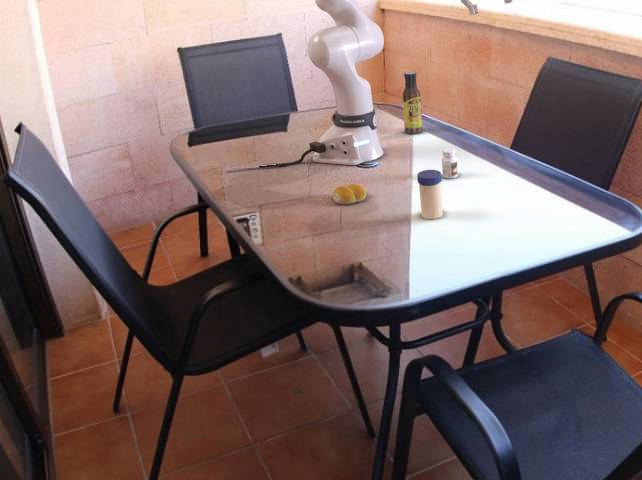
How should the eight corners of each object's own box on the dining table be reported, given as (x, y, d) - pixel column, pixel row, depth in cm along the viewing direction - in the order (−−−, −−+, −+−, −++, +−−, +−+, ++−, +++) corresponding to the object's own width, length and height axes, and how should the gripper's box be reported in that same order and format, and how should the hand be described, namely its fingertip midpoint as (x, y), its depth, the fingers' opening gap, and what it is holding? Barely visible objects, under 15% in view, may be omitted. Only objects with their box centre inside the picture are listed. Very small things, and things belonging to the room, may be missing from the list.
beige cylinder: (419, 219, 169) (416, 179, 163) (424, 210, 173) (420, 171, 168) (440, 219, 168) (437, 180, 162) (444, 210, 172) (441, 172, 167)
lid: (415, 185, 164) (414, 178, 163) (420, 176, 169) (419, 169, 168) (439, 185, 163) (438, 178, 162) (443, 176, 168) (442, 169, 167)
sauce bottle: (411, 135, 226) (405, 75, 216) (401, 131, 231) (395, 72, 220) (426, 131, 229) (422, 72, 219) (417, 127, 234) (412, 69, 223)
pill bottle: (456, 179, 191) (454, 153, 186) (441, 178, 191) (439, 152, 187) (459, 173, 194) (457, 147, 190) (444, 173, 195) (443, 147, 191)
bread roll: (371, 199, 181) (369, 185, 179) (341, 207, 177) (339, 193, 175) (358, 190, 187) (356, 176, 185) (329, 198, 183) (327, 184, 181)
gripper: (505, -62, 154) (523, -1, 158) (428, -39, 148) (449, 24, 152) (517, -72, 149) (536, -9, 152) (438, -49, 143) (459, 17, 147)
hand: (492, 8), depth 152 cm, fingers open, 8 cm apart
